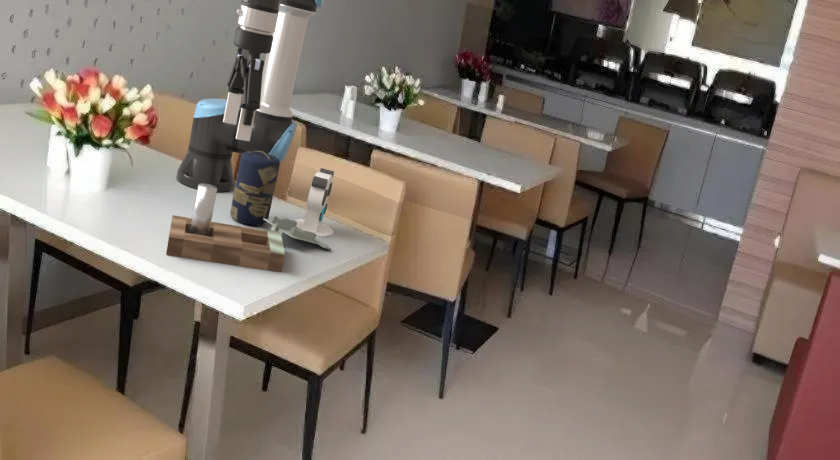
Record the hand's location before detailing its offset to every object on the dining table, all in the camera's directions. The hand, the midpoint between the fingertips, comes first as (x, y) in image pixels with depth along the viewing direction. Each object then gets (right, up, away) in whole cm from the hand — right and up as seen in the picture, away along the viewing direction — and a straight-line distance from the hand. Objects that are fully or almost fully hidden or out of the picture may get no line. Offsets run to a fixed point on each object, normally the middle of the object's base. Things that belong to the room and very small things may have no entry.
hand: (235, 131), depth 173 cm
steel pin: (-10, -24, +6) cm, 27 cm away
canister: (-4, -19, +32) cm, 37 cm away
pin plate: (-4, -25, +8) cm, 27 cm away
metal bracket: (+8, -23, +26) cm, 36 cm away
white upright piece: (+11, -21, +39) cm, 45 cm away
